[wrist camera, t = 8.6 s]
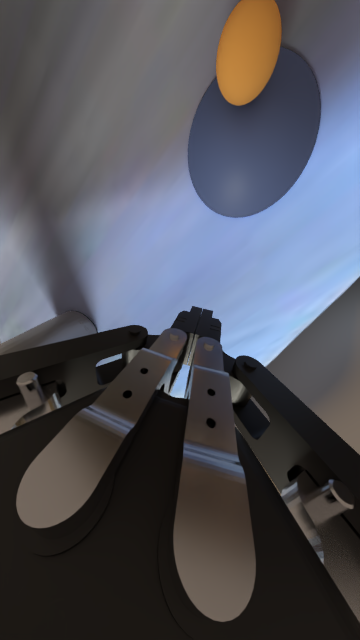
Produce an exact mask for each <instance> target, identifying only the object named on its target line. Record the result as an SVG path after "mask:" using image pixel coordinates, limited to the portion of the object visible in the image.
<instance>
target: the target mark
mask: <svg viewBox="0 0 360 640" xmlns="http://www.w3.org/2000/svg"><path fill="white" fill-rule="evenodd" d="M319 122H320V96H319V91H318V86H317V82H316V80H315V77H314V75H313V72H312V71H311V69H310V68H309V66H308V65H307V63H306V62H305V61H304V60H303V59H302V58H301V57H300V56H299V55H297V54H296V53H294V52H293V51H291V50H288V49H286V48H283V47H280V50H279V55H278V59H277V62H276V65H275V68H274V70H273V73H272V75H271V77H270V79H269V81H268V83H267V84H266V86H265V87H264V89H263V90H262V91H261V93H260V94H259V95H258V96H257V97H256V98H255V99H253V100H252V101H251V102H249V103H247V104H245V105H240V106H237V105H233V104H231V103H229V102H228V101H227V100H226V99H225V98H224V97H223V95H222V93H221V91H220V88H219V85H218V81H217V77H216V78H215V79H214V81H213V82H212V83H211V85H210V86H209V88H208V89H207V91H206V93H205V94H204V96H203V98H202V100H201V102H200V104H199V106H198V108H197V111H196V114H195V117H194V119H193V123H192V127H191V131H190V136H189V144H188V165H189V172H190V176H191V180H192V183H193V186H194V188H195V190H196V192H197V194H198V196H199V197H200V199H201V200H202V201H203V202H204V203H205V205H206V206H208V207H209V208H210V209H211V210H213V211H214V212H216V213H218V214H221V215H223V216H227V217H235V218H236V217H246V216H251V215H253V214H256V213H259V212H261V211H263V210H265V209H267V208H268V207H270V206H271V205H273V204H274V203H275V202H277V201H278V200H279V199H280V198H281V197H283V196H284V195H285V194H286V193H287V192H288V190H289V189H290V188H291V187H292V186H293V185H294V183H295V182H296V181H297V179H298V178H299V176H300V175H301V173H302V171H303V170H304V168H305V166H306V164H307V162H308V160H309V158H310V156H311V153H312V151H313V148H314V145H315V142H316V138H317V134H318V129H319Z"/></svg>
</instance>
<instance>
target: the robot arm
mask: <svg viewBox="0 0 360 640" xmlns="http://www.w3.org/2000/svg"><path fill="white" fill-rule="evenodd" d="M201 312H202V314H201ZM212 314H213V311H211V310H207V309H203V311H202V308H198V307H194V306H192V308H191V311H190V312H188V311H182V312H180V313H179V314H178V316H177V318H176V320H175V321H174V323H173V325H172V326H171V328H169V329H166V330H164V331H163V332H162V334H161V335H148V331H147V329H146V328H144V327H142V326H139V325H130V326H126V327H121V328H117V329H113V330H108V331H104V332H99V333H97V331H96V328H95V326H94V325H93V323H92V322H91V321H90V320H89V319H88V318H87V317H86V316H84V315H83V314H81V313H79V312H76V311H67V312H65V313H63V314H61V315H59V316H57V317H55V318H53V319H50V320H48V321H46V322H44V323H42V324H40V325H38V326H36V327H34V328H32V329H30V330H28V331H26V332H24V333H22V334H20V335H18V336H16V337H14V338H12V339H10V340H8V341H6V342H4V343H2V344H0V640H360V455H359V454H358V453H357V452H356V451H355V450H354V449H353V448H351V447H350V446H349V445H348V444H347V443H346V442H345V441H344V440H343V439H342V438H341V437H340V436H339V435H337V434H336V433H335V432H334V431H333V430H332V429H331V428H330V427H329V426H328V425H327V424H326V423H325V422H323V421H322V420H321V419H320V418H319V417H318V416H317V415H316V414H315V413H314V412H312V410H310V409H309V408H308V407H307V406H306V405H305V404H304V403H303V402H302V401H301V400H300V399H299V398H298V397H296V396H295V395H294V394H293V393H292V392H291V391H290V390H289V389H288V388H287V387H286V386H285V385H284V384H282V383H281V382H280V381H279V380H278V379H277V378H276V377H275V376H274V375H273V374H271V372H270V371H268V370H267V369H266V368H265V367H264V366H263V365H262V364H261V363H260V362H259V361H257V360H256V359H254V358H252V357H249V356H238V357H237V358H236V359H234V358H232V357H230V356H228V355H227V354H226V353H224V352H223V351H222V346H221V344H220V337H221V322H220V321H219V319H215V318H212ZM200 316H201V317H200ZM190 352H191V353H190ZM121 353H122V358H121V359H118V360H115V361H112V362H109V363H107V364H104V365H101V366H98V367H95V366H96V364H97V363H98V362H99V361H100V360H102V359H105V358H108V357H111V356H114V355H118V354H121ZM189 355H190V357H189ZM188 358H189V361H188ZM187 362H188V366H190V370H189V374H188V378H187V383H186V389H185V395H184V398H175V397H172V396H170V393H171V391H172V389H173V386H174V384H175V382H176V380H177V378H178V375H179V373H180V370H181V368H182V365H183V364H185V365H187ZM251 396H253V397H254V398H255V400H256V401H257V402H258V403H259V404H260V406H261V407H262V408H263V409H264V410H265V411H266V413H267V414H268V416H269V418H270V422H269V421H268V420H267V418H266V417H265V416H264V415H263V414H262V413H261V411H260V410H259V409H258V408H257V406H256V405H255V404H254V403H253V401H252V400H251V399H250V398H251ZM234 423H235V424H236V426H237V427H238V429H239V430H240V432H241V433H242V434H241V433H240V432H239V430H238V429H237V428H236V427H235V424H234ZM250 447H251V448H250ZM252 450H253V451H252ZM254 453H255V454H254ZM255 455H256V456H257V457H256V456H255ZM257 458H258V459H259V460H258V459H257ZM259 461H260V462H261V464H262V465H263V467H264V468H265V470H266V471H267V473H268V474H269V476H270V477H271V479H272V481H273V482H274V483H275V485H276V487H277V488H278V490H279V491H280V493H281V494H282V496H280V494H279V492H278V491H277V489H276V488H275V486H274V484H273V483H272V481H271V480H270V478H269V477H268V475H267V473H266V472H265V470H264V469H263V467H262V465H261V464H260V462H259Z"/></svg>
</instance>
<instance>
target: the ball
mask: <svg viewBox="0 0 360 640" xmlns="http://www.w3.org/2000/svg"><path fill="white" fill-rule="evenodd" d="M281 33H282V28H281V17H280V13H279V9H278V6H277V4H276V2H275V1H274V0H241V1H240V2H239V3H238V4H237V5H236V7H235V8H234V9H233V11H232V12H231V14H230V16H229V18H228V19H227V22H226V24H225V26H224V29H223V31H222V34H221V38H220V41H219V46H218V51H217V60H216V73H217V81H218V85H219V88H220V91H221V93H222V95H223V97H224V98H225V99H226V100H227V101H228V102H229V103H231V104H233V105H237V106H240V105H245V104H247V103H249V102H251V101H252V100H253V99H255V98H256V97H257V96H258V95H259V94H260V93H261V91H262V90H263V89H264V87H265V86H266V84H267V83H268V81H269V79H270V77H271V75H272V73H273V70H274V68H275V65H276V62H277V59H278V55H279V50H280V44H281Z"/></svg>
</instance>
